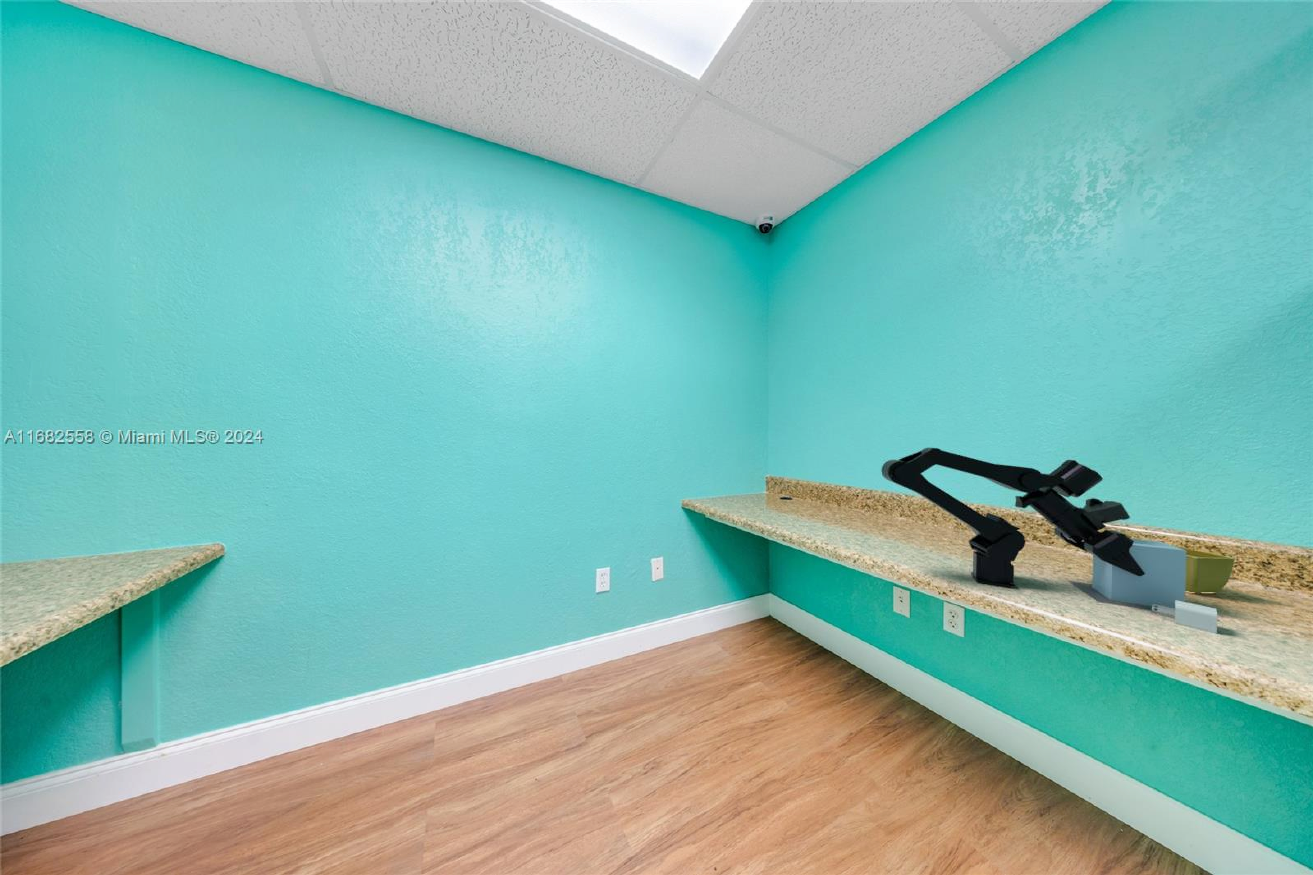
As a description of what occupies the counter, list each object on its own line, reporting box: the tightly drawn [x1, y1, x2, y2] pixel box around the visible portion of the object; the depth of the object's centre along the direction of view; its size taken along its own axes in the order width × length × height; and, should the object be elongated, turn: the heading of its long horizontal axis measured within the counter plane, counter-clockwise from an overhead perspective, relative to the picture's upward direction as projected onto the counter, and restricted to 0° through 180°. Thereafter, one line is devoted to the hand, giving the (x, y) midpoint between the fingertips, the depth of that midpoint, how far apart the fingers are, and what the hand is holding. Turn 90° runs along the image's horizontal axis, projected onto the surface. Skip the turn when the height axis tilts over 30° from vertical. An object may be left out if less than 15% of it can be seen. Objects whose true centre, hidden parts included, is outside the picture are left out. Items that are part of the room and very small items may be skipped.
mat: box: [1067, 580, 1221, 622], centre depth 80 cm, size 16×13×1 cm
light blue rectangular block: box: [1091, 537, 1186, 609], centre depth 80 cm, size 10×7×12 cm
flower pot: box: [1177, 546, 1236, 593], centre depth 86 cm, size 9×9×9 cm
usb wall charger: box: [1151, 600, 1218, 635], centre depth 70 cm, size 4×7×4 cm, turn 36°
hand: (1128, 568), depth 81 cm, fingers open, 9 cm apart
